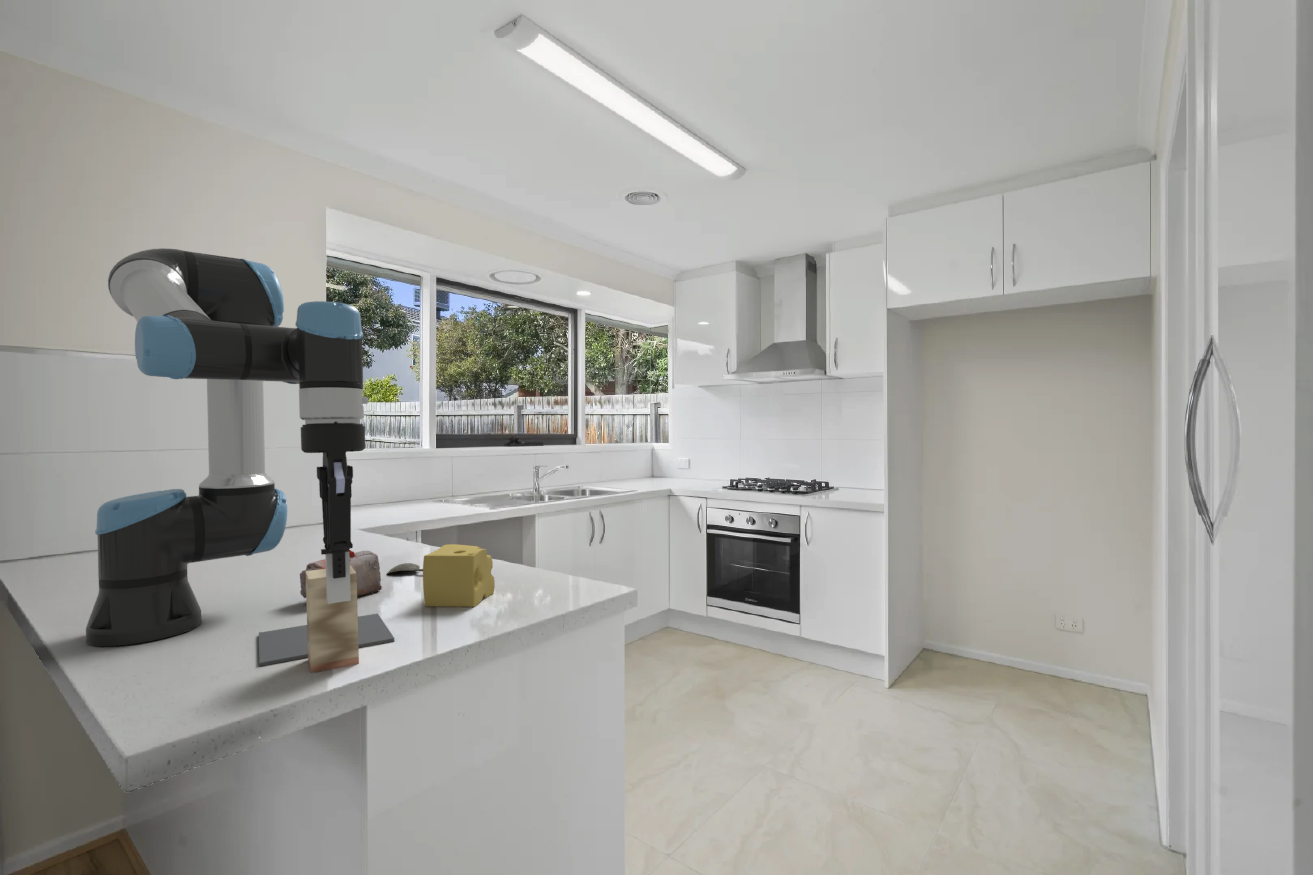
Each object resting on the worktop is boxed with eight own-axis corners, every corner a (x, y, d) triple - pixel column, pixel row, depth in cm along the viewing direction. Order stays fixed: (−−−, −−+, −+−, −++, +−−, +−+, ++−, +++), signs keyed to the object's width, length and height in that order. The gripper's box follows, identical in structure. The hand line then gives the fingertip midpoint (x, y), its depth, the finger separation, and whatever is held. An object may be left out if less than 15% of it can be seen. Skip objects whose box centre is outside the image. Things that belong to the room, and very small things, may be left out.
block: (311, 672, 87) (308, 579, 87) (308, 659, 92) (305, 571, 92) (358, 663, 90) (356, 573, 90) (353, 651, 95) (351, 565, 95)
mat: (259, 666, 90) (259, 662, 90) (258, 635, 103) (258, 632, 103) (394, 641, 99) (394, 637, 99) (377, 616, 113) (377, 613, 113)
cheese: (495, 593, 128) (494, 543, 127) (474, 608, 117) (473, 555, 117) (445, 592, 129) (444, 543, 128) (420, 608, 118) (419, 554, 118)
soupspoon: (404, 573, 151) (381, 580, 146) (402, 559, 151) (379, 566, 145) (473, 578, 141) (451, 586, 136) (472, 563, 141) (450, 571, 135)
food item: (322, 609, 118) (321, 557, 118) (297, 604, 122) (295, 553, 122) (385, 592, 130) (384, 544, 130) (360, 587, 134) (358, 541, 134)
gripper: (371, 420, 79) (377, 607, 80) (357, 422, 90) (362, 586, 91) (303, 421, 75) (310, 617, 76) (297, 423, 86) (303, 595, 87)
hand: (338, 600), depth 83 cm, fingers closed
